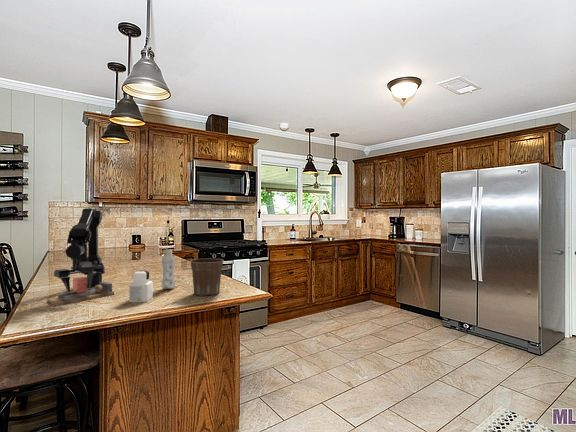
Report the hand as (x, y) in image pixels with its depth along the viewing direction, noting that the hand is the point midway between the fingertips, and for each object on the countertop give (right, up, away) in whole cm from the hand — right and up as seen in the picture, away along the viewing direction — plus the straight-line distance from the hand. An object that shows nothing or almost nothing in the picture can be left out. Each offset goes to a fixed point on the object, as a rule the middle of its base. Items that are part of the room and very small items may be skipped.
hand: (79, 289), depth 152 cm
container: (+28, -5, -1) cm, 29 cm away
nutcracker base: (+1, -4, +1) cm, 4 cm away
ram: (+1, -3, +2) cm, 3 cm away
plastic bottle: (+33, -4, +20) cm, 39 cm away
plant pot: (+55, -5, +13) cm, 56 cm away
